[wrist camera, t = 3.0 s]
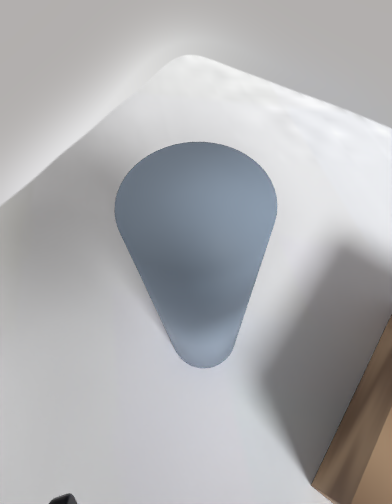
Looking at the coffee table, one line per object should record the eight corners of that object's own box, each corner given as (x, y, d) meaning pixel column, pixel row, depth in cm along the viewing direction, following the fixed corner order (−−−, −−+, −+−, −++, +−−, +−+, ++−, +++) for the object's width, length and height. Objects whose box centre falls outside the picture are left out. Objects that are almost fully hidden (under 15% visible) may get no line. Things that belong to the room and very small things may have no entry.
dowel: (211, 382, 19) (215, 309, 7) (159, 342, 20) (80, 216, 8) (247, 328, 20) (306, 184, 8) (197, 293, 22) (181, 122, 9)
